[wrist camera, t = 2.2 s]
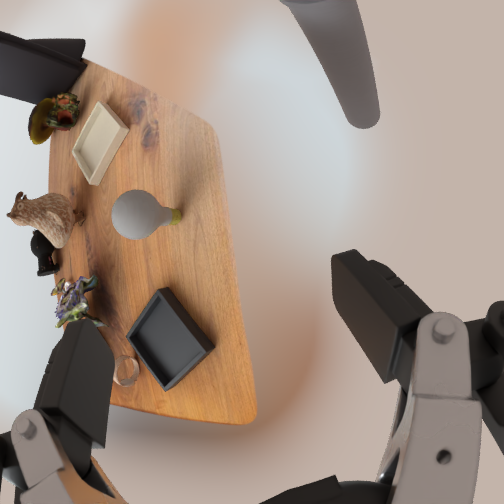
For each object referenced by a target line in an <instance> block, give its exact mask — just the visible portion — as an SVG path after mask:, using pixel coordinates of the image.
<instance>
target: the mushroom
mask: <svg viewBox="0 0 504 504" xmlns="http://www.w3.org/2000/svg"><path fill="white" fill-rule="evenodd" d="M76 99H77V96H75V95H74V94H71V93H70V94H69V93H62V92H61V94H59V95H58V97H57V98H55V97H54V96H53V100H52V99H50V98H45V99H44V100H42V101H41V102H39V103H38V104H37V105H36V106H35V107H34V109H33V110H32V113H31V115H30V117H29V125H28V131H29V136H30V139H31V140H32V142H33V144H36V145H37V144H41V143H43V142H45V141H46V140H47V139H48V138H49V137H50V135H51V134H52V132H53V130H54V128H55V129H58V130H61V131H67V130H69V131H70V129H71V128H72V127H73V126H74V125H75V122H76V118H77V116H78V114H79V110H78V105H76V103H77V104H79V103H80V101H77V100H76Z"/></svg>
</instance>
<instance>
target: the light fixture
mask: <svg viewBox="0 0 504 504" xmlns="http://www.w3.org/2000/svg"><path fill="white" fill-rule="evenodd" d="M85 44H86V43H85V40H84V39H31V40H30V39H29V40H25V39H22V38H19V37H17V36H14V35H11V34H8V33H5V32H2V31H0V95H4V96H8V97H12V98H16V99H19V100H22V101H26V102H29V103H32V104H36V105H37V104H38V103H39V102H41V101H42V100H44V99H45V98H50V99H52V100H53V96H54V97H55V98H57V97H58V95H59V94H61V92H62V93H67V92H68V91H69V89H70V88H71V86H72V85H73V84H74V82H75V81H76V80H77V78H78V77H79V76H80V74H81V73H82V72H83V71H84V69H85V68H86V67H87V64H85V63H82V62H80V59H81V57H82V54H83V52H84V49H85Z"/></svg>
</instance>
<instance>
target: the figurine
mask: <svg viewBox="0 0 504 504" xmlns="http://www.w3.org/2000/svg"><path fill="white" fill-rule="evenodd" d="M22 196H23V192H19V193H18V194H17V196H16V199H15V204H14V206H13V208H12V210H11V212H10V213H8V214H7V216H8V217H10V218H11V219H12V221H13V222H14V223H15V224H17V225H19V226H26V225H30V226H32V227H35V228H37V229H38V230H39V231H40V232H42V233H43V234H44V235H45V237H46V238H47V239H48V240H49V241H50V242H51V243H52V244H53V245H54V246H55V247H56V248H62V247H64V246H65V244H66V243H67V241H68V240H69V238H70V236H71V233H72V230H73V226H74V223H77V222H78V223H79V225H80V226H81V225H82V222H83V221H84V220H85V218H86V217H83V212H82V211H81V212H80V213H79V214H76V215H75V213H74V210H72V206H71V203H70V202H69V200H68V199H67V198H66V197H65V196H63V195H61V194H56V193H49V194H46V195H43V196H41V197H39V198H37V199H33V200H29V199H27V197H26V195H24V197H23V199H22V200H21V197H22Z"/></svg>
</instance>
